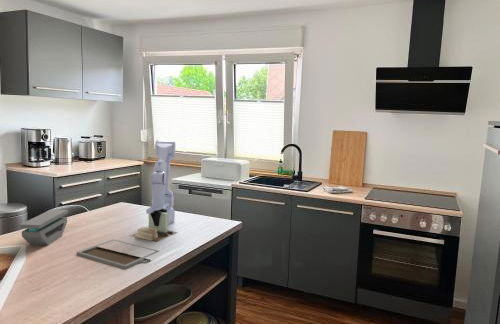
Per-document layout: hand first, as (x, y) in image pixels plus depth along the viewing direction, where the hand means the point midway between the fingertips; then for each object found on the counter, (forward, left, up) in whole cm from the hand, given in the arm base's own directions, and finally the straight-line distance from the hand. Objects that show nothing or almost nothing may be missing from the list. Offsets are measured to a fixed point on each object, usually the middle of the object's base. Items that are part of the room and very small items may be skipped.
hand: (158, 225), depth 182 cm
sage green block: (0, 0, -3) cm, 2 cm away
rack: (+3, 0, -5) cm, 6 cm away
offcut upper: (+8, 0, -2) cm, 8 cm away
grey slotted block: (+32, -36, -5) cm, 49 cm away
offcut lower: (+8, 0, -4) cm, 9 cm away
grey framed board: (+28, +4, -5) cm, 29 cm away
